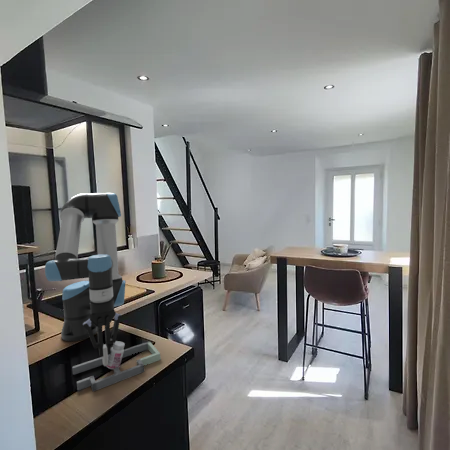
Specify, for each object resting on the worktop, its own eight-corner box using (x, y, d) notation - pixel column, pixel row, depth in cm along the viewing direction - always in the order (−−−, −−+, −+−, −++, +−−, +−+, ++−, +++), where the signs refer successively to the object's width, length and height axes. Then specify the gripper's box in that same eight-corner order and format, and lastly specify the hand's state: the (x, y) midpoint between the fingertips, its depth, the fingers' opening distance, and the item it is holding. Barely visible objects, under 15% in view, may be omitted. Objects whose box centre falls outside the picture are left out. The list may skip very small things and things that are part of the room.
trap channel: (72, 373, 100) (72, 366, 100) (149, 347, 116) (149, 341, 116) (79, 396, 88) (78, 389, 88) (164, 363, 104) (164, 357, 104)
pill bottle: (111, 371, 99) (118, 347, 99) (103, 365, 101) (109, 342, 102) (122, 367, 103) (128, 344, 104) (113, 361, 105) (119, 339, 106)
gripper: (83, 306, 92) (87, 375, 94) (123, 298, 99) (126, 362, 101) (79, 300, 98) (83, 365, 100) (118, 292, 105) (121, 353, 107)
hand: (105, 363), depth 100 cm, fingers closed
